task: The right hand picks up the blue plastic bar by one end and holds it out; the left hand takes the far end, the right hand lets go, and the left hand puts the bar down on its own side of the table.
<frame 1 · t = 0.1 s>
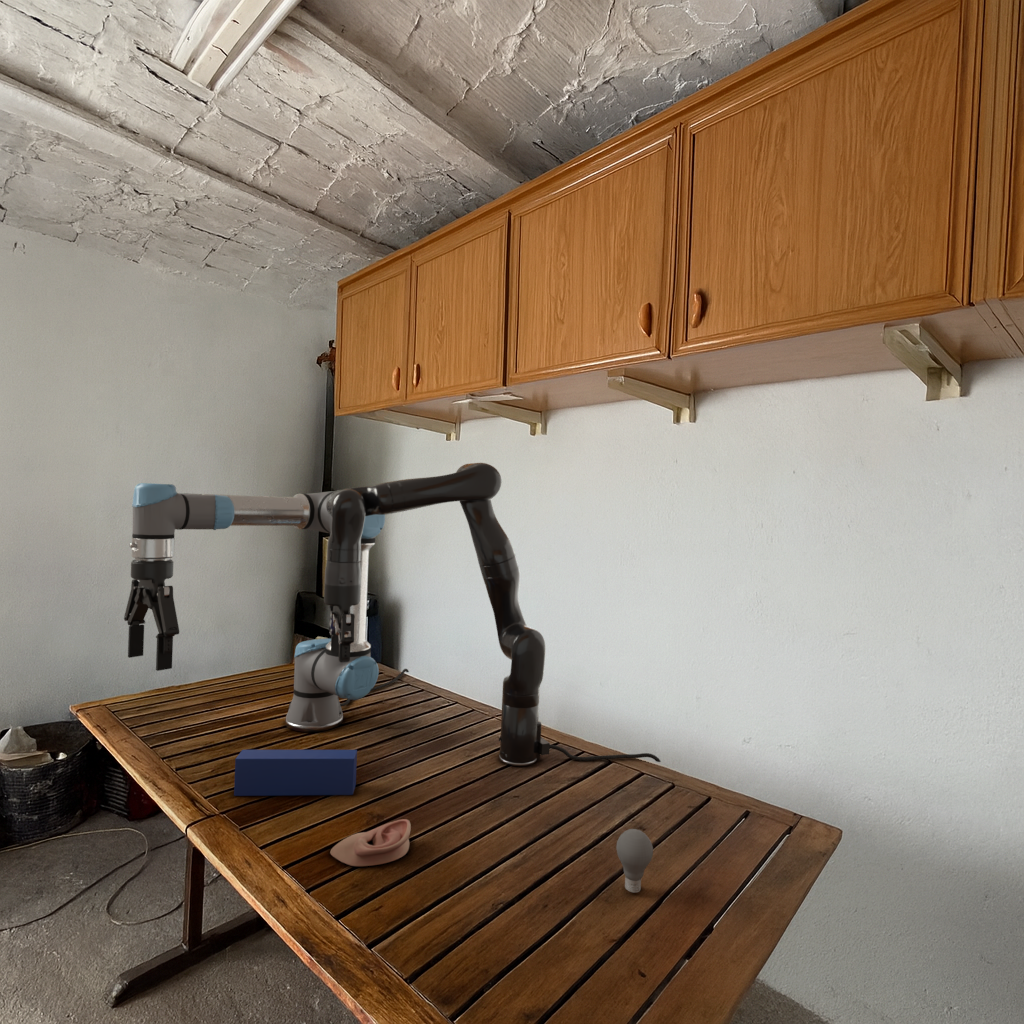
left hand: (149, 662, 129), 28 cm above the table, tool pointing down, fingers open, 13 cm apart
right hand: (339, 656, 136), 29 cm above the table, tool pointing down, fingers open, 8 cm apart
fossil: (331, 680, 216), on the table
anatomical model: (370, 850, 114), on the table
bar: (296, 790, 136), on the table
light bulb: (632, 891, 106), on the table
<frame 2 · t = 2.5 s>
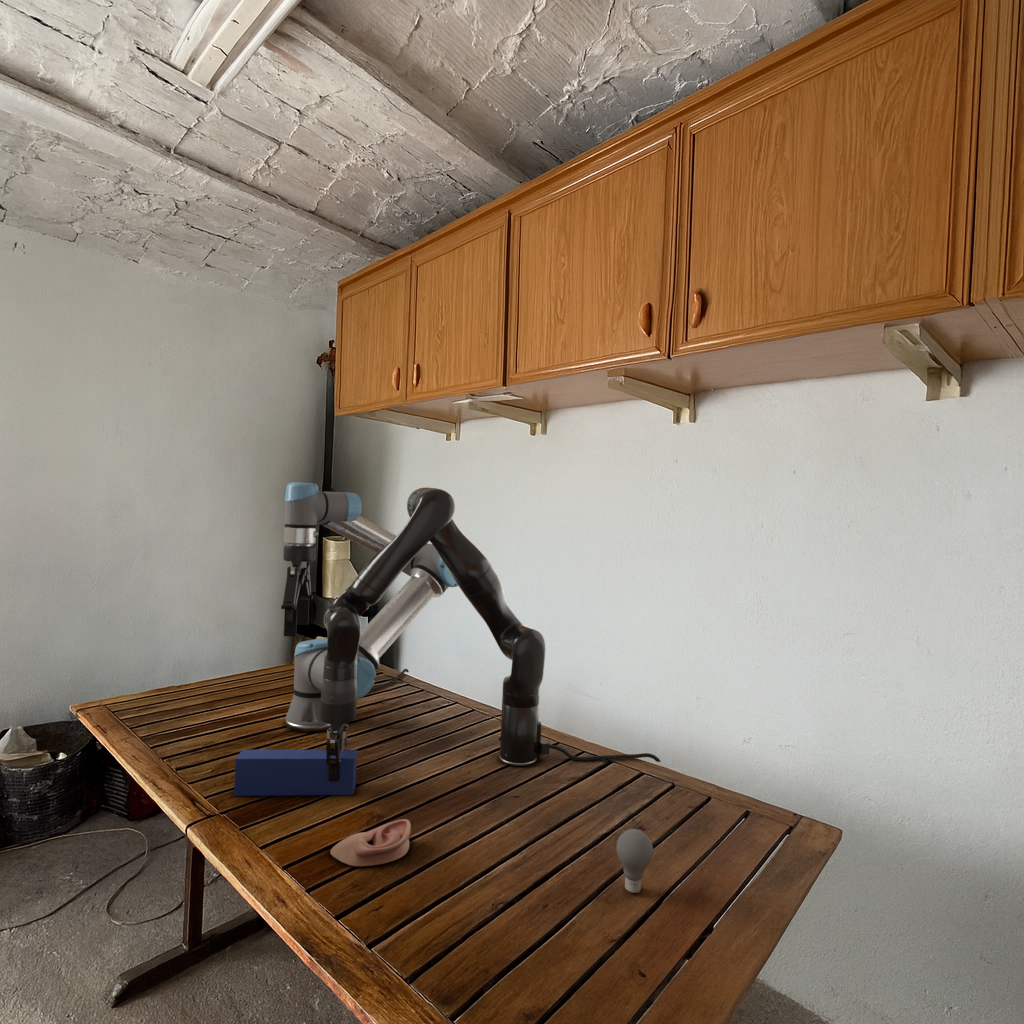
left hand: (296, 630, 157), 30 cm above the table, tool pointing down, fingers open, 13 cm apart
right hand: (336, 774, 137), 3 cm above the table, tool pointing down, fingers closed on bar, 5 cm apart
bar: (296, 790, 136), on the table, touching right hand
everything else where it was.
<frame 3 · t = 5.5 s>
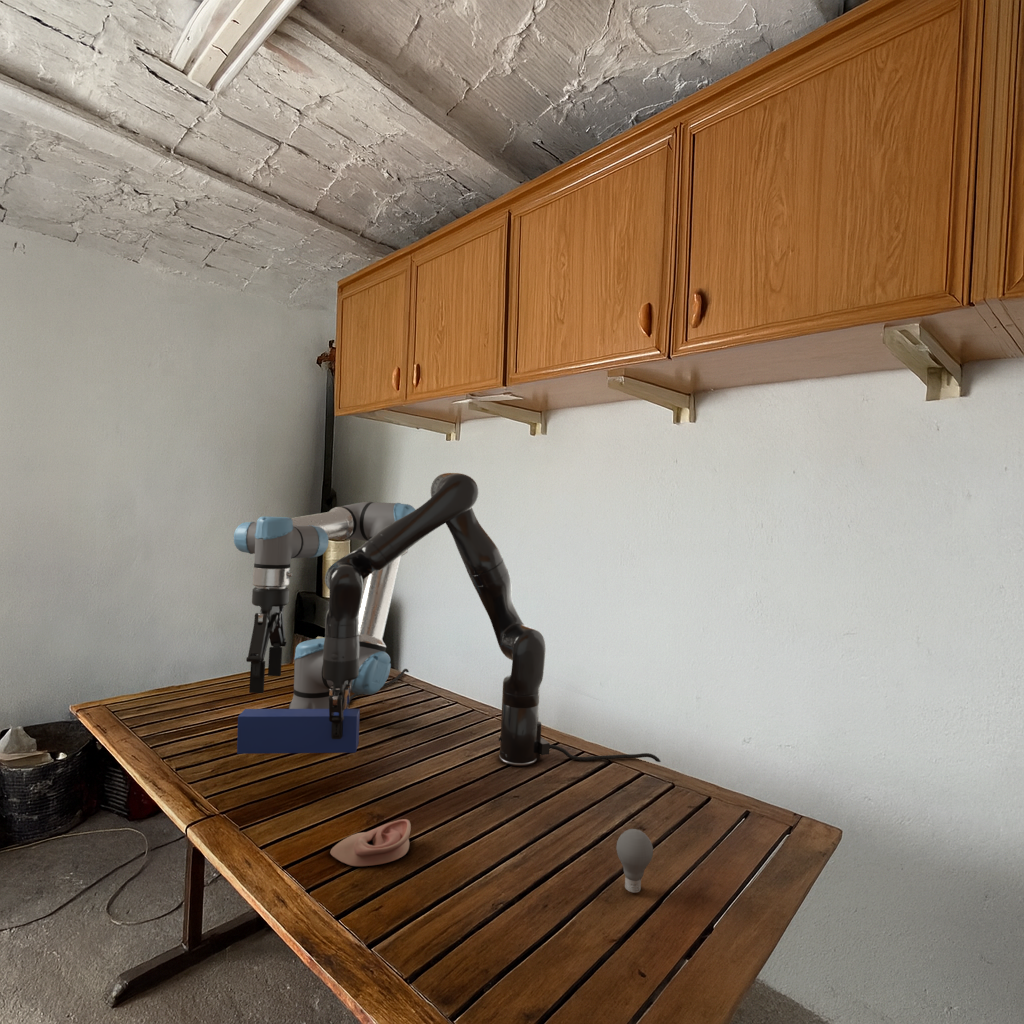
left hand: (265, 683, 139), 22 cm above the table, tool pointing down, fingers open, 13 cm apart
right hand: (338, 733, 137), 12 cm above the table, tool pointing down, fingers closed on bar, 5 cm apart
bar: (299, 748, 136), point 9 cm above the table, touching right hand
everything else where it was.
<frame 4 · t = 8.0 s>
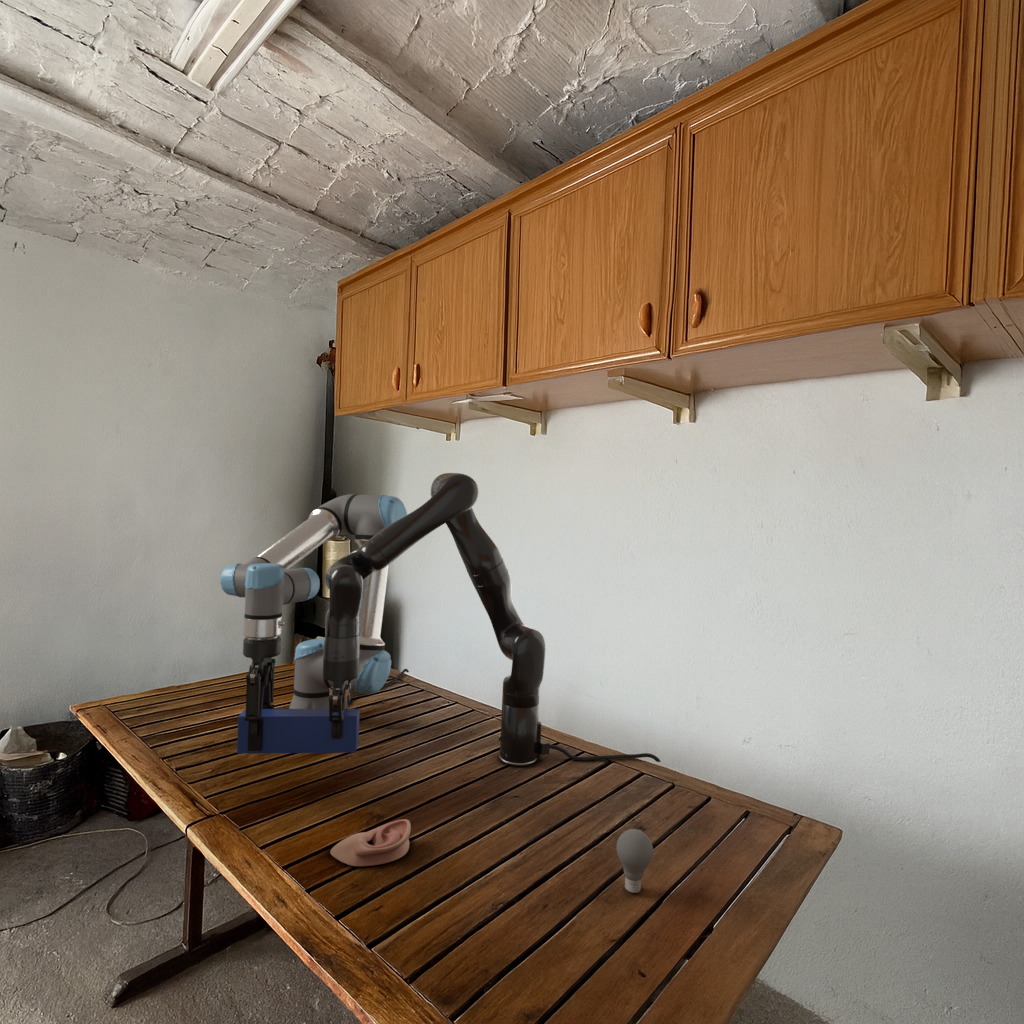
left hand: (258, 744, 135), 10 cm above the table, tool pointing down, fingers closed on bar, 5 cm apart
right hand: (338, 733, 137), 12 cm above the table, tool pointing down, fingers closed on bar, 5 cm apart
bar: (299, 748, 136), point 9 cm above the table, touching left hand, right hand
everything else where it was.
when the right hand's fingers open (12 cm above the table, at t = 8.7 s): bar stays where it is, held by the left hand.
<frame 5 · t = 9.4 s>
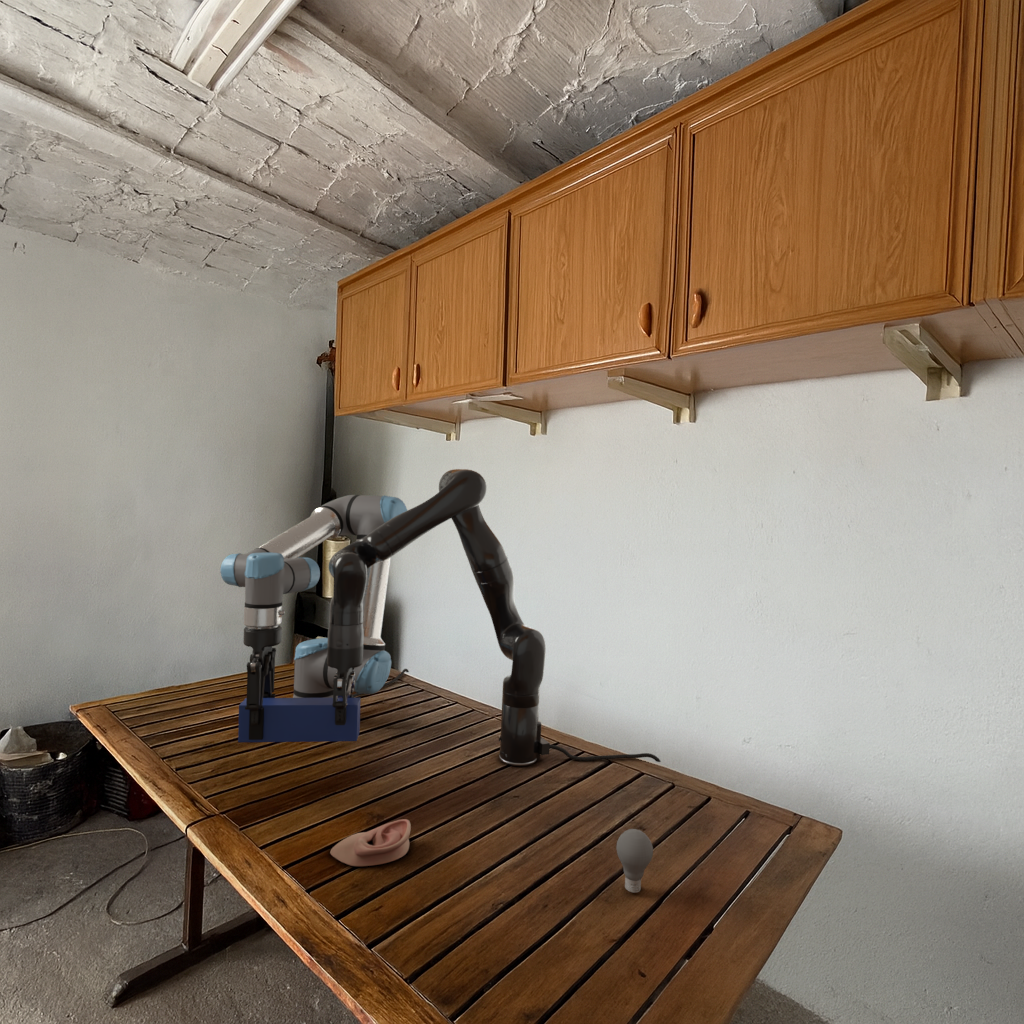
left hand: (259, 733, 135), 12 cm above the table, tool pointing down, fingers closed on bar, 5 cm apart
right hand: (343, 717, 137), 16 cm above the table, tool pointing down, fingers open, 8 cm apart
bar: (300, 737, 136), point 11 cm above the table, touching left hand
everything else where it was.
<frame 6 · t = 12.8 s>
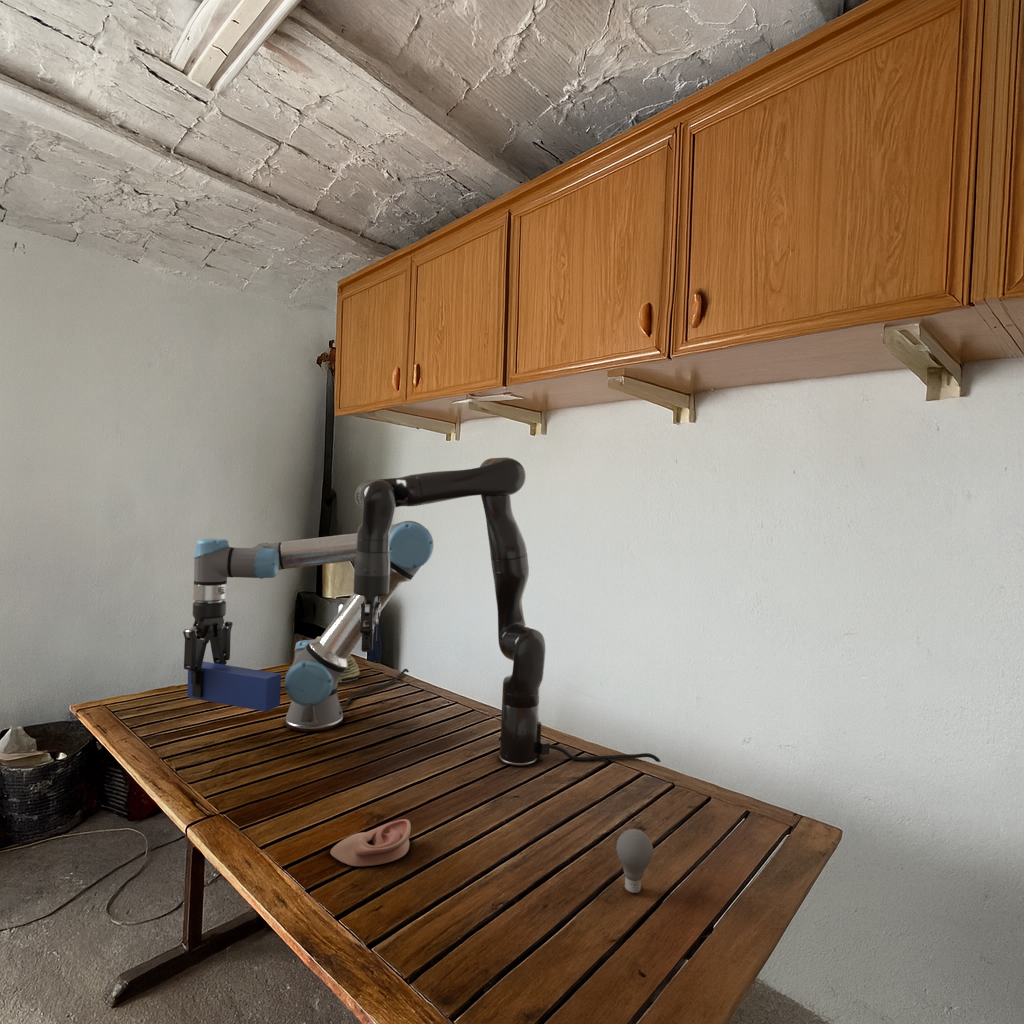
left hand: (206, 693, 158), 13 cm above the table, tool pointing down, fingers closed on bar, 5 cm apart
right hand: (369, 646, 137), 31 cm above the table, tool pointing down, fingers open, 8 cm apart
bar: (233, 701, 155), point 12 cm above the table, touching left hand
everything else where it was.
when the left hand's fingers open (2 cm above the table, at t = 18.1 s): bar drops 2 cm, on the table.
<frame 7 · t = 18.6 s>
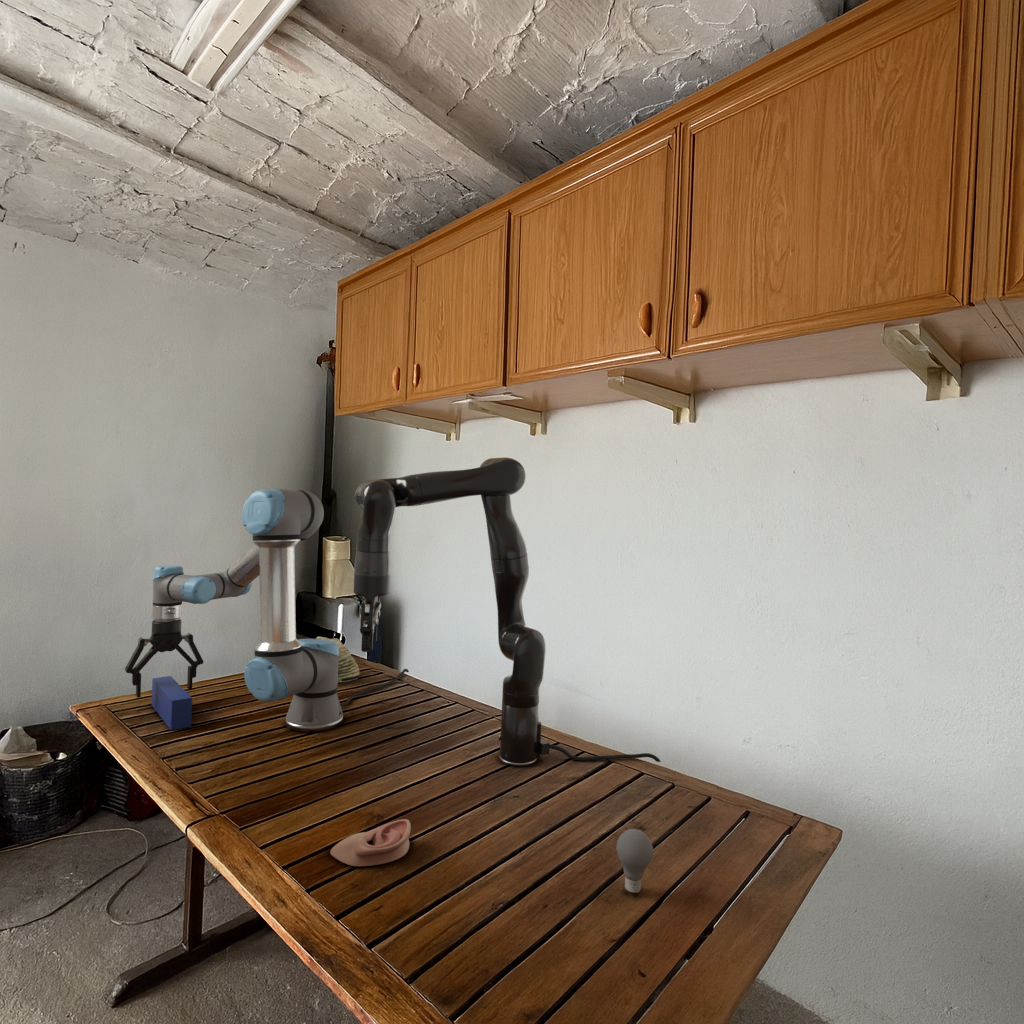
left hand: (164, 692, 183), 4 cm above the table, tool pointing down, fingers open, 13 cm apart
right hand: (369, 646, 137), 31 cm above the table, tool pointing down, fingers open, 8 cm apart
bar: (170, 715, 177), on the table
everything else where it was.
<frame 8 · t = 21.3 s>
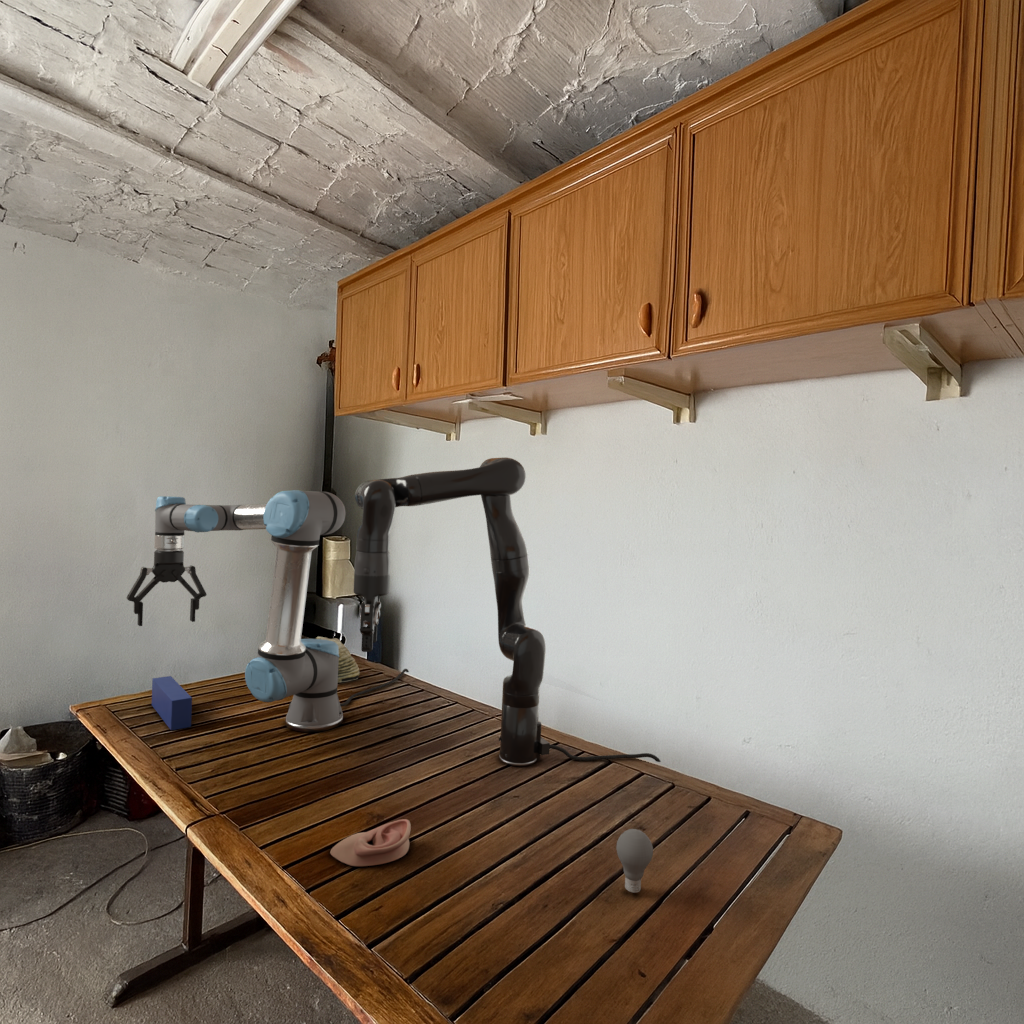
left hand: (166, 623, 183), 24 cm above the table, tool pointing down, fingers open, 13 cm apart
right hand: (369, 646, 137), 31 cm above the table, tool pointing down, fingers open, 8 cm apart
nothing on the table moved.
at the end: bar inside the target area (8.3 cm from its centre), on the table; the left hand is holding nothing; the right hand is holding nothing; bar at rest at the end (0.0 cm/s) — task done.
